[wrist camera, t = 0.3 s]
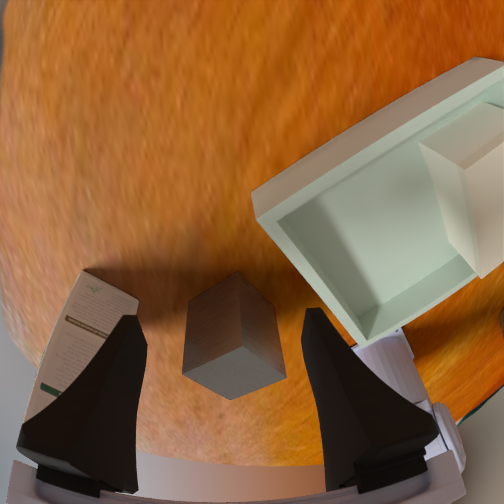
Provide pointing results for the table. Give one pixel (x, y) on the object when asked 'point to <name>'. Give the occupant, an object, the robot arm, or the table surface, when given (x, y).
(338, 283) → the pale green tray
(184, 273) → the table surface
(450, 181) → the off-white block
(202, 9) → the table surface
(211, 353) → the tin
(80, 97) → the table surface
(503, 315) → the plant pot
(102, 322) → the syrup box
